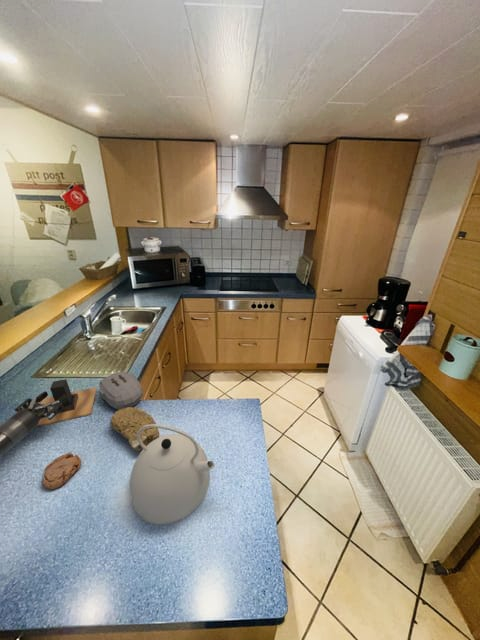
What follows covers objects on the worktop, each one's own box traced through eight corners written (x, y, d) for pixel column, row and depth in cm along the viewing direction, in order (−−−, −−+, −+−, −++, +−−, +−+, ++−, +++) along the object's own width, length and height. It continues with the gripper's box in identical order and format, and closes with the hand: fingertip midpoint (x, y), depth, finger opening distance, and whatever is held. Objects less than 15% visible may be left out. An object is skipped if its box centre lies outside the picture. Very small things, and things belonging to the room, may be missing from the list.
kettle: (225, 455, 83) (224, 404, 73) (202, 536, 63) (197, 479, 53) (156, 441, 87) (147, 391, 78) (114, 512, 67) (94, 456, 58)
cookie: (36, 494, 71) (32, 487, 70) (51, 460, 80) (48, 454, 79) (75, 485, 74) (73, 478, 72) (85, 453, 83) (83, 447, 82)
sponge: (165, 441, 89) (143, 401, 101) (160, 431, 84) (138, 390, 96) (128, 466, 83) (110, 420, 95) (120, 456, 78) (102, 409, 90)
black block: (58, 410, 98) (49, 388, 94) (61, 403, 102) (53, 381, 98) (71, 407, 100) (63, 386, 95) (73, 400, 104) (66, 379, 99)
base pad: (29, 428, 91) (27, 423, 90) (43, 399, 105) (41, 394, 104) (91, 414, 98) (89, 409, 97) (96, 388, 112) (95, 383, 110)
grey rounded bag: (95, 394, 108) (116, 418, 96) (91, 378, 105) (112, 402, 93) (129, 378, 119) (151, 398, 107) (126, 363, 115) (149, 382, 103)
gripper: (31, 422, 79) (70, 388, 94) (-8, 416, 81) (36, 384, 95) (39, 439, 82) (75, 404, 97) (1, 433, 84) (43, 399, 99)
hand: (56, 394), depth 96 cm, fingers open, 8 cm apart
